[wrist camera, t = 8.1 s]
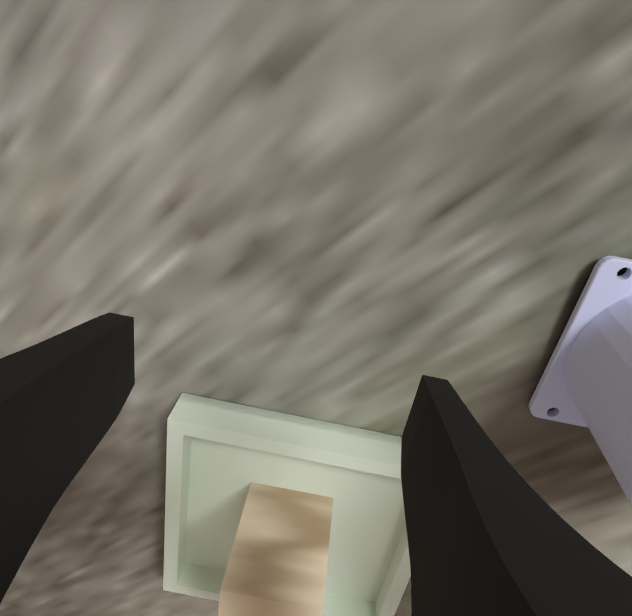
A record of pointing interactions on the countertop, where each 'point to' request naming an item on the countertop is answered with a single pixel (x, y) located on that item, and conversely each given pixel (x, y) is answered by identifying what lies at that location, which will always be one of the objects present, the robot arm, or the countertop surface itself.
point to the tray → (290, 473)
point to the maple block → (278, 555)
